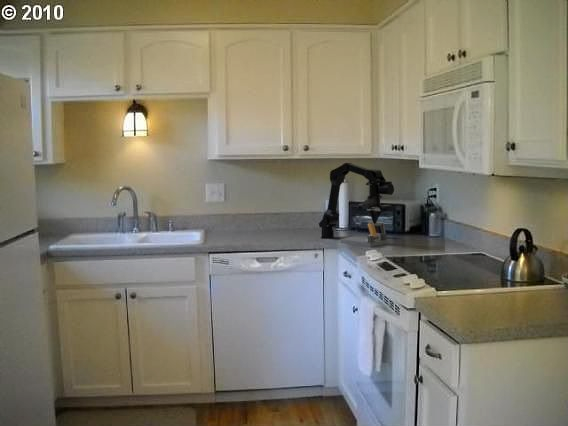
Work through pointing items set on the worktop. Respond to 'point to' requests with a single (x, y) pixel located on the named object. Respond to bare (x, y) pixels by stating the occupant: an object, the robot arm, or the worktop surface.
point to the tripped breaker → (372, 230)
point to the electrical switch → (378, 227)
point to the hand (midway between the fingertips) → (374, 223)
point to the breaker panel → (366, 240)
